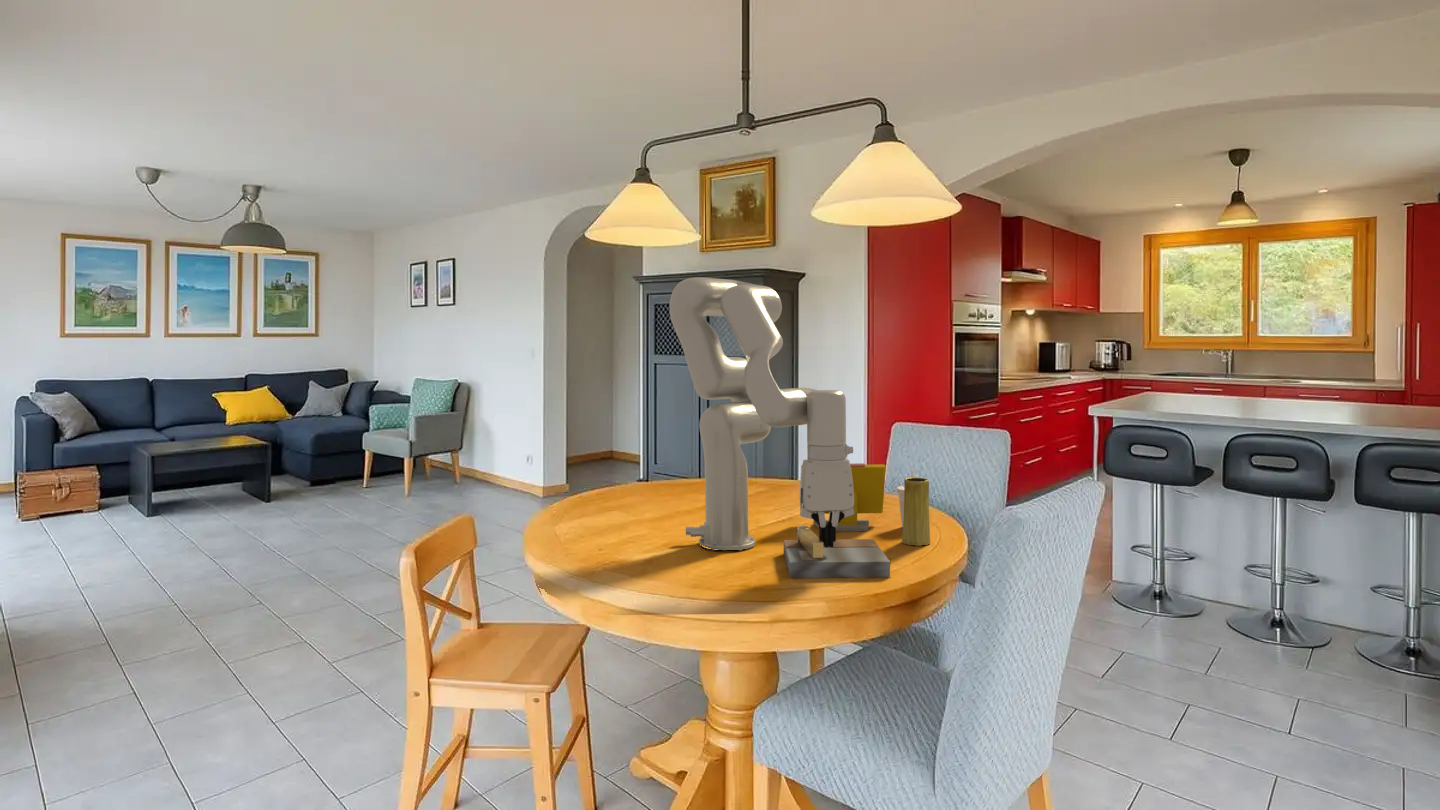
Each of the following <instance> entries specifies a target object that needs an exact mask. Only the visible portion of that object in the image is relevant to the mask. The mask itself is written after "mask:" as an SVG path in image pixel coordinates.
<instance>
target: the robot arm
mask: <svg viewBox="0 0 1440 810" xmlns="http://www.w3.org/2000/svg"><path fill="white" fill-rule="evenodd" d="M782 310H783V305H782V300H781V298H780V296H779V294H778V293H777V292H776V291H775V290H774V289H773V288H772V287H769V286H767V285H760V284H755V283H750V282H746V281H741V280H735V279H726V278H714V277H700V276H699V277H690V278H689V277H688V278H686V279H683V280H681V281H679V282H678V283H677V284H676V285H675V287H674V288H673V290H672V293H671V296H670V300H669V317H670V320H671V324H672V327H673V328H674V331H675V333H676V335H677V338H678V341H679V342H680V344H681V348H682V351H683V353H684V358H685V361H686V365H687V368H688V371H689V374H690V379H691V381H692V385H693V387H694V390H695V392H696V394H697V395H698V397H699V398H701V399H703V400H708V401H709V400H710V401H714V400H715V401H716V400H728V399H730V402H721V403H717V404H713V405H711V406H708V408H706V409H705V410H704V411H703V413H702V414H701V416H700V418H699V427H698V428H699V433H700V438H701V442H702V449H703V459H704V498H705V499H704V502H705V503H704V504H705V505H704V506H705V507H704V509H705V510H704V511H705V521H704V524H703V525H701V524H700V525H699V526H685V536H690V537H691V538H692V537H693V538H694V537H695V538H696V537H700V538H699V540H698V544H699V543H700V544H701V545H703V546H705V547H708V548H711V549H718V550H739V551H744V550H743V549H745V550H747V549H750V548H752V547H754V546H755V545H756V538H755V537H754V536H752V535H749V474H748V471H749V470H748V469H749V468H748V462H747V458H746V456H745V454H744V453H745V452H743V450H742V447H741V445H744V444H750V443H752V444H753V443H757V442H761V441H763V440H765V439H766V438H767V437H768V435H769V434H770V432H771V430H772V428H787V427H793V426H796V427H797V426H804V425H806V437H807V438H806V442H807V445H806V446H807V447H806V449H807V451H806V454H807V455H806V456H807V459H806V458H805V459H803V460H802V465H801V466H802V470H801V469H800V471H801V472H800V481H799V483H800V484H799V506H800V505H801V510H800V509H799V510H800V512H799V515H800V516H801V518H805V519H811V520H812V521H815V522H816V523H817V524H818V525H819V528H818V537H819V539H820V540H821V541H822V542H823V546H824V547H825V548H826V547H833V542H835V541H836V539H837V536H836V535H837V531H836V526H837V525H838V523H839V522H840V521H841V520H842V519H843V518H844V517H848V516H851V515H854V508H853V506H854V488H853V479H852V472H851V466H850V464H851V463H850V460H849V459H848V455H850V454H853V453H854V446H850V445H848V444H847V409H846V408H847V404H846V403H847V402H846V401H847V399H846V395H845V393H844V392H843V391H841V390H838V389H837V390H836V389H815V388H811V387H810V388H809V387H796V388H794V387H791V388H780V387H779V386H778V384H777V382H776V380H775V379H774V377H773V374H772V372H771V367H770V360H771V359H772V358H773V357H775V356H776V355H777V354H778V353H779V352H780V350H782V348H783V344H784V340H783V337H782V335H781V334H780V331H779V330H778V328H777V326H776V325H775V323H776V321H778V319H779V318H780V317H781V315H782ZM706 317H724V318H725V320H726V322H727V323H728V326H729V328H730V329H731V331H732V333H733V335H734V337H735V339H736V341H737V342H738V344H739V346H740V349H741V351H742V352H743V354H744V356H745V358H744V357H739V356H726V354H725V352H724V349H723V347H722V344H721V341H720V338H719V336H718V334H717V332H716V330H715V328H713V326H712V325H711V324H709V322H708V321H707V320H706ZM824 512H830V513H829V515H828V519H827V520H828V524H826V516H825V514H824Z"/></svg>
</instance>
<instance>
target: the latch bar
mask: <svg viewBox="0 0 1440 810" xmlns="http://www.w3.org/2000/svg"><path fill="white" fill-rule="evenodd" d="M796 527H797V528H796V529H797V540H798V542H799V543H801V545H802V546H803V547H804V548H805V549H806V550H807V552H808V553H809V554H810V555H811V556H812V557H813V558H823V542H822V541H821V540H820V539H819V535H817V534H816V533H815V532H814V531H813V530H812V529H811V527H810V526H807V525H799V526H796Z"/></svg>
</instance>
